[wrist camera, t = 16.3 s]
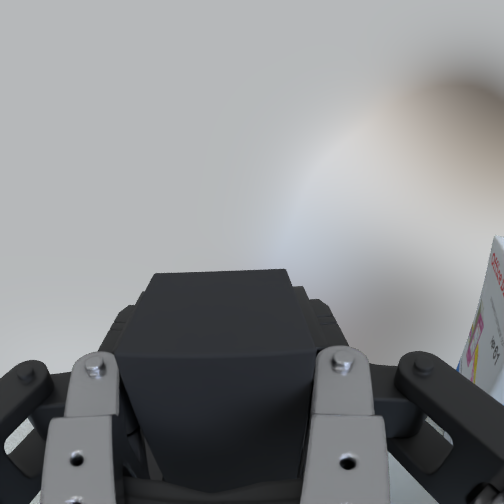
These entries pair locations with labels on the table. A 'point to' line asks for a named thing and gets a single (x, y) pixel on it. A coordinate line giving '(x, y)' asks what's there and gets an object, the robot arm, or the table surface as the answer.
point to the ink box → (487, 332)
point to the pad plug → (220, 376)
